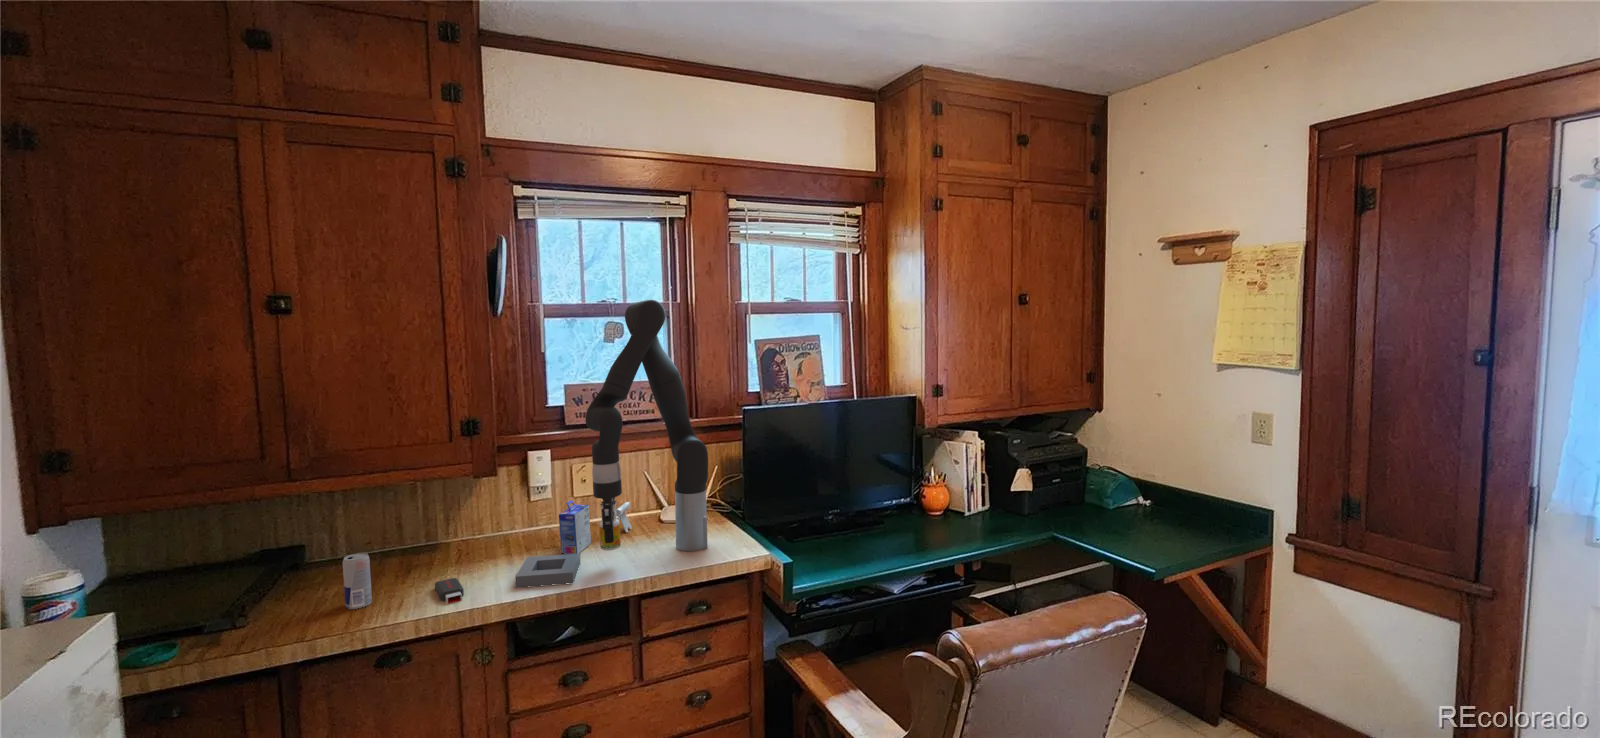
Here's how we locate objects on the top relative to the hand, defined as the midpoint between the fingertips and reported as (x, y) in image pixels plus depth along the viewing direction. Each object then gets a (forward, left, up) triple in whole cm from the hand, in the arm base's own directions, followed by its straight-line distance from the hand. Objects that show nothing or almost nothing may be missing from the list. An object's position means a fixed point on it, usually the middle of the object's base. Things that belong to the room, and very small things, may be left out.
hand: (610, 538), depth 182 cm
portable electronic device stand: (+1, -32, -8) cm, 33 cm away
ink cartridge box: (+12, -17, -8) cm, 22 cm away
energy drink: (+58, +13, -8) cm, 60 cm away
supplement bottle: (0, 0, -3) cm, 3 cm away
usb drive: (+38, +10, -9) cm, 40 cm away
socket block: (+16, +3, -8) cm, 18 cm away
